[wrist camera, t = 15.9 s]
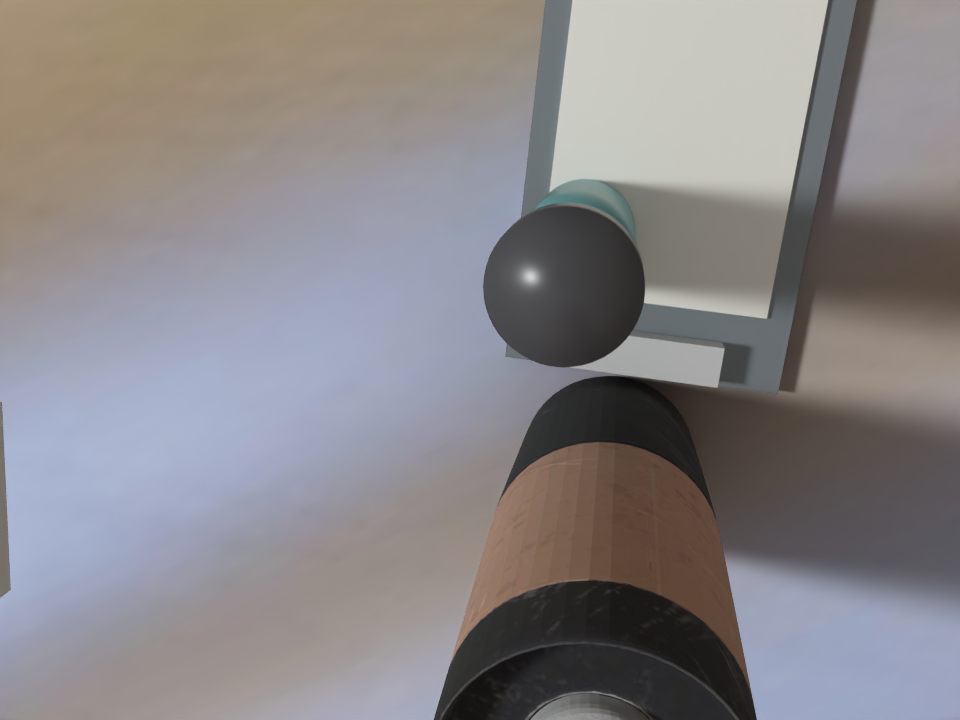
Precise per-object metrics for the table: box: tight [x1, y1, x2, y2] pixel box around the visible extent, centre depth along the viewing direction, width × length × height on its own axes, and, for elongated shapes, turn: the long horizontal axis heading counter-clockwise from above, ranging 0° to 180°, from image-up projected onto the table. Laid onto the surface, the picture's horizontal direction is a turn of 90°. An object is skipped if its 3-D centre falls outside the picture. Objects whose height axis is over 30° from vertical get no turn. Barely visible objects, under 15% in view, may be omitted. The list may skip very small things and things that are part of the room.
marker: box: [483, 179, 645, 367], centre depth 30 cm, size 4×4×12 cm
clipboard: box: [505, 0, 857, 394], centre depth 35 cm, size 18×11×2 cm, turn 175°
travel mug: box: [434, 377, 757, 720], centre depth 29 cm, size 8×8×20 cm
